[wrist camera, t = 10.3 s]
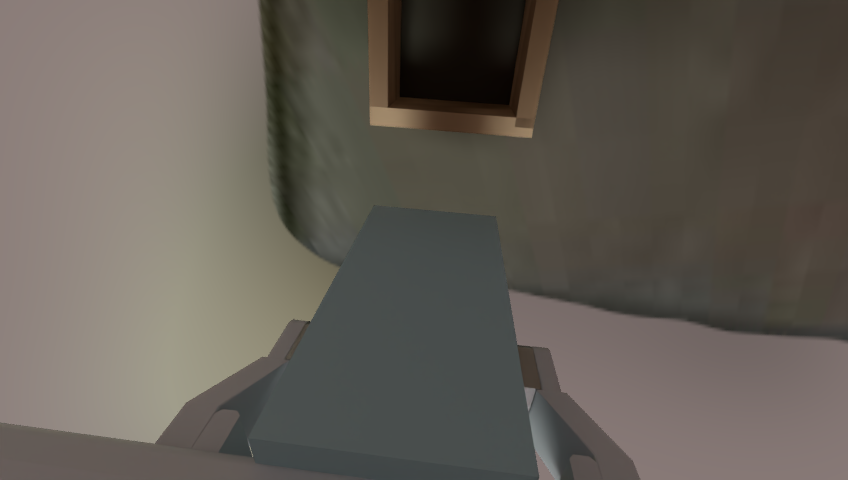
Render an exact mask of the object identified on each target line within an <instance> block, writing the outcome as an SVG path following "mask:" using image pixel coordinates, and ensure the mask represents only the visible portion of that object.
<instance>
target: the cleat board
mask: <svg viewBox="0 0 848 480" xmlns="http://www.w3.org/2000/svg"><path fill="white" fill-rule="evenodd" d="M558 2H559V0H526V4H525V10H524V16H523V22H522V28H521V34H520V41H519V47H518V53H517V59H516V65H515V72H514V78H513V84H512V90H511V96H510V102H509V105H501V104H488V103H474V102H461V101H447V100H434V99H420V98H407V97H400V52H401V0H368V45H369V95H370V125H377V126H389V127H402V128H414V129H427V130H439V131H452V132H464V133H477V134H489V135H502V136H514V137H527V138H531V137H532V132H533V127H534V122H535V117H536V112H537V107H538V102H539V97H540V92H541V87H542V82H543V77H544V72H545V67H546V62H547V57H548V52H549V47H550V42H551V37H552V32H553V27H554V22H555V17H556V12H557V7H558Z"/></svg>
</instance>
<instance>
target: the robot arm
mask: <svg viewBox="0 0 848 480" xmlns="http://www.w3.org/2000/svg"><path fill="white" fill-rule="evenodd" d="M309 324H310V321H300V320H294V319H293V320H291V321H290V322H289V323H288V325H287V326H286V328H285V330H284V331H283V333H282V334H281V336H280V338H279V339H278V341H277V342H276V344H275V346H274V347H273V349H272V350H271V352H270V354H269V355H268V357H261V358H260V359H258V360H257V361H255V362H253V363H251V364H250V365H248V366H246V367H245V368H243V369H241V370H240V371H238V372H237V373H235V374H233V375H232V376H230V377H228V378H227V379H225V380H223V381H222V382H220V383H219V384H217V385H215V386H213V387H212V388H210V389H208V390H207V391H205V392H203V393H202V394H200V395H198V396H197V397H195V398H193V399H192V400H190V401H188V402H187V403H186V404H185V405H184V406H183V408H182V409H181V410H180V412H179V413H178V414H177V416H176V417H175V418H174V419H173V421H172V422H171V423H170V425H169V426H168V427H167V428H166V430H165V431H164V432H163V434H162V435H161V436H160V438H159V439H158V440H157V441H156V443H155V444H152V443H145V442H137V441H130V440H123V439H116V438H108V437H101V436H94V435H87V434H79V433H72V432H65V431H58V430H50V429H43V428H36V427H28V426H21V425H14V424H7V423H0V480H373V479H366V478H359V477H352V476H344V475H337V474H330V473H323V472H316V471H308V470H301V469H294V468H287V467H280V466H272V465H265V464H258V463H255V460H254V457H252V454H251V451H250V447H249V446H250V444H249V441H248V436H249V434H250V433H251V431H252V429H253V427H254V425H255V423H256V422H257V420H258V418H259V416H260V414H261V412H262V411H263V409H264V407H265V405H266V403H267V401H268V400H269V398H270V396H271V394H272V392H273V390H274V388H275V387H276V385H277V383H278V381H279V379H280V377H281V376H282V374H283V372H284V370H285V368H286V366H287V365H288V363H289V361H290V359H291V357H292V355H293V354H294V352H295V350H296V348H297V346H298V344H299V343H300V341H301V339H302V337H303V335H304V333H305V331H306V330H307V328H308V326H309ZM517 347H518V353H519V359H520V365H521V371H522V377H523V383H524V389H525V395H526V401H527V407H528V413H529V419H530V425H531V431H532V437H533V443H534V448H535V450H536V451H537V453H538V454H539V456H540V457H541V459H542V460H543V462H544V464H545V465H546V466H547V468H548V470H549V471H550V473H551V474H552V476H553V477H554V479H555V480H640V478H639V475H638V473H637V470H636V468H635V465H634V463H633V461H632V460H631V459H630V458H629V457H628V456H627V455H626V453H624V451H623V450H622V449H621V448H619V446H618V445H617V444H616V443H615V442H614V441H613V440H612V439H611V438H610V437H609V436H608V435H607V434H606V433H605V432H604V431H603V430H602V429H601V428H600V427H599V426H598V425H597V424H596V423H595V422H594V421H593V420H592V419H591V418H590V417H589V416H588V415H587V414H586V413H585V412H584V411H583V410H582V409H581V408H580V407H579V406H578V404H577V403H575V401H574V400H572V398H571V397H570V396H569V395H568V394H567V393H562V392H561V389H560V386H559V382H558V378H557V375H556V371H555V368H554V364H553V360H552V357H551V353H550V350H549V349H548V348H542V347H530V346H520V345H517Z"/></svg>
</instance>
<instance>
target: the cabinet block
mask: <svg viewBox="0 0 848 480" xmlns="http://www.w3.org/2000/svg"><path fill="white" fill-rule="evenodd" d="M248 441H249V444H250V447H251V451H252V454H253V457H254V460H255V463H258V464H265V465H272V466H280V467H287V468H294V469H301V470H308V471H316V472H323V473H330V474H337V475H344V476H352V477H359V478H366V479H373V480H538V479H539V473H538V467H537V461H536V455H535V449H534V443H533V437H532V431H531V425H530V419H529V413H528V407H527V401H526V395H525V389H524V383H523V377H522V371H521V365H520V359H519V353H518V347H517V341H516V335H515V329H514V322H513V317H512V311H511V304H510V298H509V292H508V286H507V280H506V274H505V268H504V262H503V256H502V250H501V244H500V238H499V232H498V226H497V220H496V216H485V215H474V214H463V213H452V212H441V211H430V210H419V209H408V208H398V207H387V206H376V205H374V206H373V208H372V210H371V212H370V214H369V216H368V218H367V219H366V221H365V223H364V225H363V227H362V229H361V230H360V232H359V234H358V236H357V238H356V240H355V241H354V243H353V245H352V247H351V249H350V251H349V252H348V254H347V256H346V258H345V260H344V262H343V263H342V265H341V267H340V269H339V271H338V273H337V275H336V276H335V278H334V280H333V282H332V284H331V286H330V287H329V289H328V291H327V293H326V295H325V297H324V298H323V300H322V302H321V304H320V306H319V308H318V310H317V311H316V313H315V315H314V317H313V319H312V320H311V322H310V324H309V326H308V328H307V330H306V331H305V333H304V335H303V337H302V339H301V341H300V343H299V344H298V346H297V348H296V350H295V352H294V354H293V355H292V357H291V359H290V361H289V363H288V365H287V366H286V368H285V370H284V372H283V374H282V376H281V377H280V379H279V381H278V383H277V385H276V387H275V388H274V390H273V392H272V394H271V396H270V398H269V400H268V401H267V403H266V405H265V407H264V409H263V411H262V412H261V414H260V416H259V418H258V420H257V422H256V423H255V425H254V427H253V429H252V431H251V433H250V434H249V436H248Z"/></svg>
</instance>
